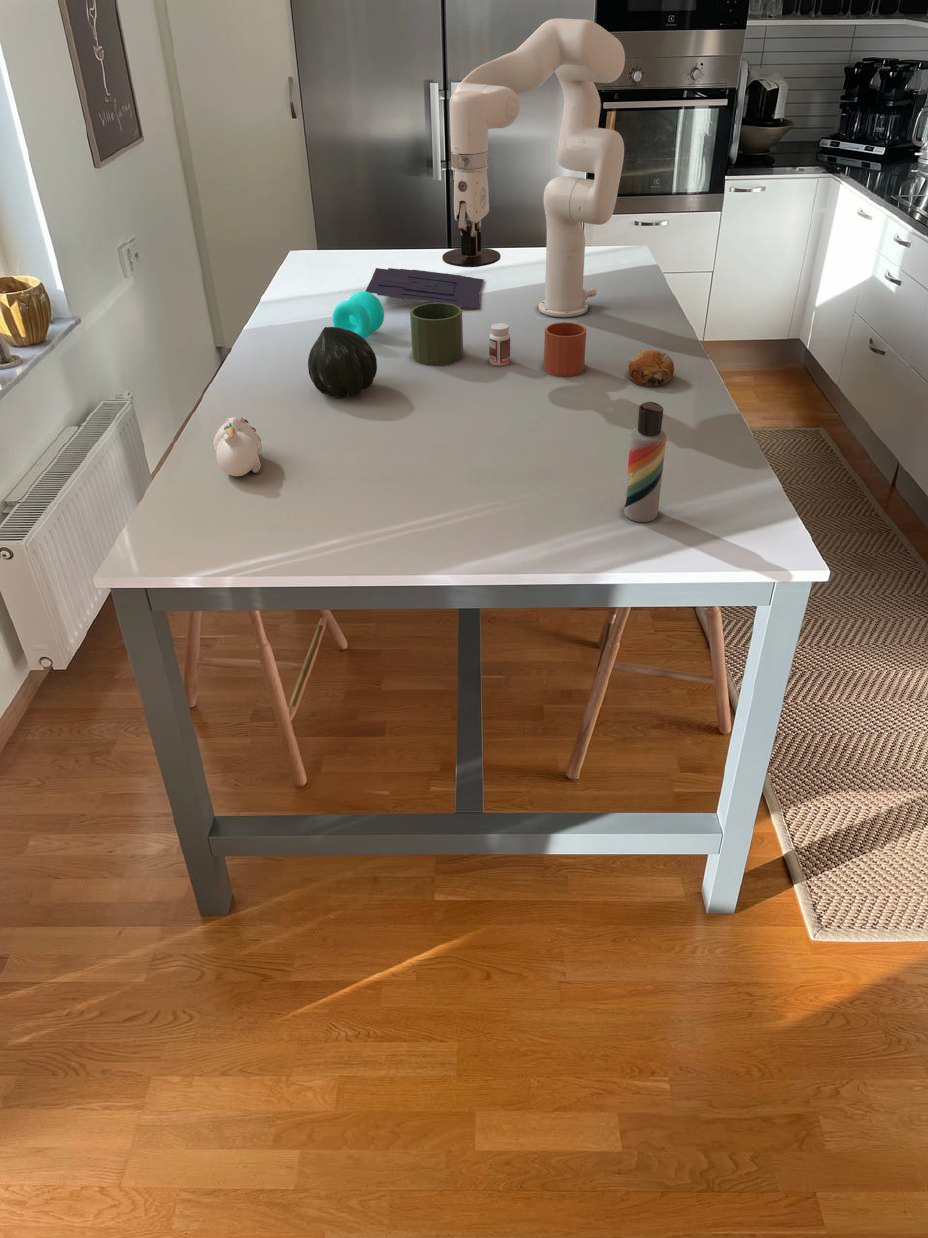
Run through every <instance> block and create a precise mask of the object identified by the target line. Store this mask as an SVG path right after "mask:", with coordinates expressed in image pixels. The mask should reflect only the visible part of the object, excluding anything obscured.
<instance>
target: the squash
mask: <svg viewBox="0 0 928 1238" xmlns="http://www.w3.org/2000/svg"><path fill="white" fill-rule="evenodd" d="M307 369H308V375H309V378H310V381H311V382H312V383H313V386H314V387H315V388H316V389H317V390H318V391H319V392H320V393H321V394H323V395H327V396H333V397H335V398H338V399H343V398H345V397H346V396H347V395H348V397H349V396H350V397H351V398H354V397H357V396H359V395H360V394H361V392H362V390H363V391H364V390H367V389H369V388H370V387H371V386H372V385H373V382H374V379H375V378H376V375H377V372H378V362H377V356H376V354H375V351H374V350H373V348H372V347H371V345H370V344H369V342H368V341H367V340H366V339H363V338H362V337H361V336H360V335H359V334H357V333H355V332H353V331H350V330H346V329H342V328H337V327H334V326H328V327H327V326H325V327H323V329H322V330H321V332H320V334H319V336H318V338H317V339H316V341H315V342H314V344H313V345H312V347H311V349H310V351H309V353H308V359H307Z"/></svg>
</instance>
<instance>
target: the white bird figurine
mask: <svg viewBox="0 0 928 1238" xmlns="http://www.w3.org/2000/svg"><path fill="white" fill-rule="evenodd" d="M213 448H214V450H215V457H216V458H215V459H216V461H217V464H218V466H219V468H220V469H221V471H223V472H224V473H225V474H227V475H229V476H232V477H242V476H245V475H246V474H248V473H249V472H250V471H252V472H253V473H255V474H256V473H258V472H259V471H260V469H261V466H262V464H261V461H260V456H259V452H260V451H262V450H263V443H262V439H261V437H260V435H259V434H258V433H257V430H256V428H255V427H253V425H251V424H250V422H249V421H248V419H245V418H243V417H242V416H240V417H235V416H234V417H227V418H226V419H225V422H224V423H223V424H222V425H221V426H219V429H218V430H217V432H216V434H215V436H214V439H213Z"/></svg>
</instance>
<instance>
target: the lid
mask: <svg viewBox="0 0 928 1238" xmlns="http://www.w3.org/2000/svg"><path fill="white" fill-rule="evenodd" d="M474 236H476V256H463V255H462V253H461V247H460V248H454V249H450V250H447V251H446V252H444V253H443V254H442V256H441V257H442V258H441V260H442V261H443V262H444V263H445V264H448V265H451V266H454V267H461V268H480V267H485V266H489V265H493V264H495V263H497V262H499V261H500V260H501V253H500V252H499V251H498V250H495V249H492V248H487V247H481V251H480V252H477V231H475V234H474Z"/></svg>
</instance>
